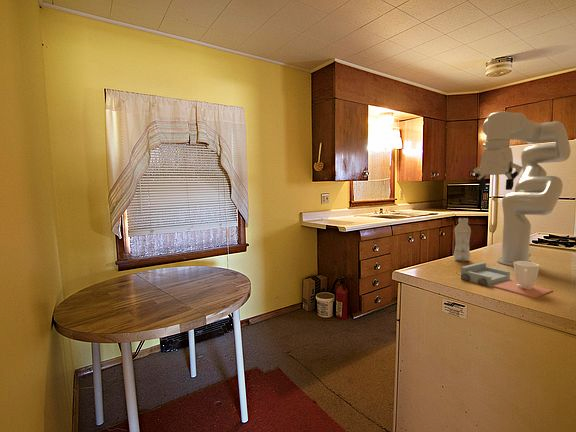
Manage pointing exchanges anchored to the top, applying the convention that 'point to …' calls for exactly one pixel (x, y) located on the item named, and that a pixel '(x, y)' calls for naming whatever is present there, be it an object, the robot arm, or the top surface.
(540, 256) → the top surface
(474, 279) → the flatbed
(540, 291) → the plate
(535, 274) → the cup
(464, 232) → the plastic bottle
